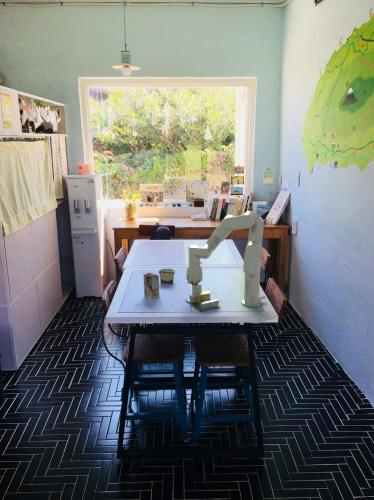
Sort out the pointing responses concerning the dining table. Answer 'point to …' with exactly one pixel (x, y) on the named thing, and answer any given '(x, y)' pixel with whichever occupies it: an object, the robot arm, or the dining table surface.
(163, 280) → the food container
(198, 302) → the block
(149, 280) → the coffee box
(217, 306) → the panel
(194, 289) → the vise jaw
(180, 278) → the dining table surface
